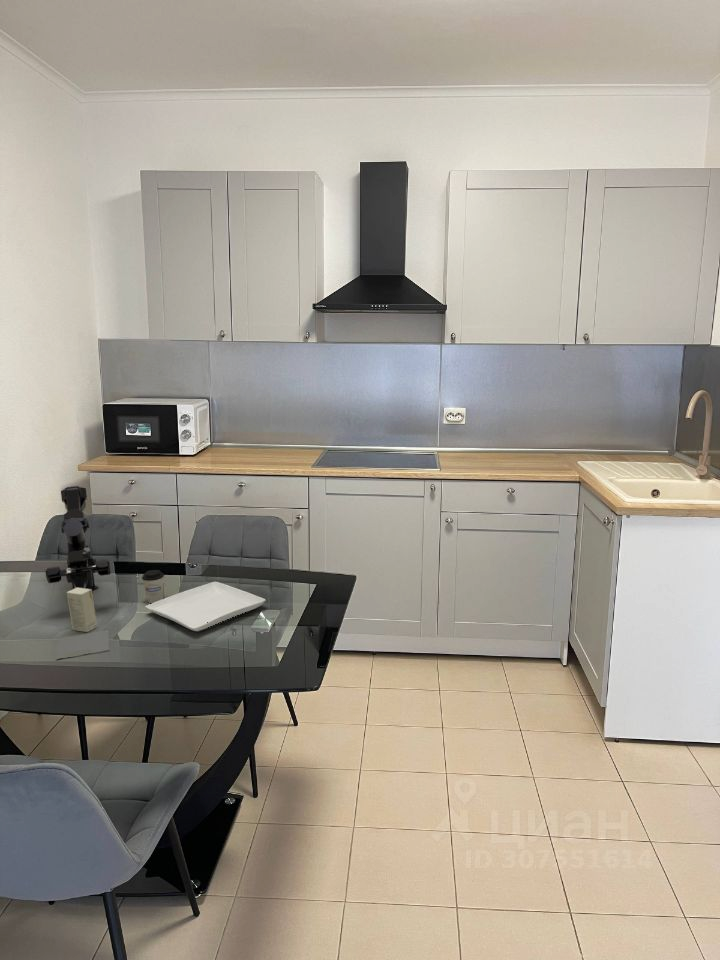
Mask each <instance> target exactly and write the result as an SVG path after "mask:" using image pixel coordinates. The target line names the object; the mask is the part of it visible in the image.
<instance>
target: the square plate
mask: <svg viewBox="0 0 720 960" xmlns="http://www.w3.org/2000/svg"><path fill="white" fill-rule="evenodd" d="M266 601H267V600H266V599H265V598H264V597H261V596H259V595H255V594H253V593H251V592H248V591H244V590H242V589H239V588H236V587H233V586H231V585H227V584H226V583H222V582H218V581H212V582H209V583H206V584H203V585H199V586H196V587H193V588H191V589H190V588H189V589H187V590H185V591H181V592H179V593H176V594H173V595H170V596H168V597H165V598H163V599H162V600H159V601H157V602H154V603H152V604H150V603H148V604H147V605H145V608H146V609H148V610H150V611H151V612H152V613H154V614H156V615H158V616H161V617H163V618H166V619H168V620H170V621H173V622H174V623H177V624H178V625H181V626H183V627H185V628H187V629H188V630H191V631H194V632H201V631H203V630H205V629H208V627H209V628H211V627H210V626H212V627H213V625H214V626H216V625H215V624H217V625H219V624H221V623H223V622H222V621H224V622H226V621H228V620H227V619H229V620H231V619H233V618H232V617H234V618H236V617H238V616H237V615H239V616H241V615H242V613H243V614H245V612H246V613H247V612H250V611H252V610H255V609H257V608H259V607H261V606H262V605H263V604H264V603H265V602H266ZM240 614H241V615H240ZM235 616H236V617H235ZM230 618H231V619H230ZM225 620H226V621H225ZM207 622H208V623H207ZM220 622H221V623H220ZM218 623H219V624H218Z"/></svg>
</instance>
